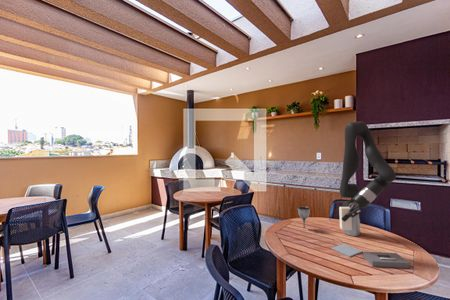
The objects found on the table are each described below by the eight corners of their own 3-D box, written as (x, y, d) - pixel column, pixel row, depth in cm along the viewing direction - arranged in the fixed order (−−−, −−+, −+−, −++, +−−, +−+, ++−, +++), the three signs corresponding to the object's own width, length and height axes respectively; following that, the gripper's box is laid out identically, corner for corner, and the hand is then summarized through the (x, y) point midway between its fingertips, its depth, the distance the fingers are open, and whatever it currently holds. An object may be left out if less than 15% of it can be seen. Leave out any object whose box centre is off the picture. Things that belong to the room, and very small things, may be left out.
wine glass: (309, 227, 159) (309, 206, 159) (310, 231, 152) (309, 209, 151) (298, 226, 162) (297, 206, 162) (298, 230, 154) (297, 209, 154)
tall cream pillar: (349, 228, 123) (348, 206, 123) (351, 230, 120) (351, 208, 120) (339, 227, 124) (339, 206, 124) (342, 230, 121) (341, 208, 121)
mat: (344, 244, 129) (343, 243, 129) (362, 252, 119) (362, 251, 119) (331, 248, 125) (331, 247, 125) (349, 257, 115) (349, 256, 115)
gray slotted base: (396, 257, 112) (396, 251, 112) (409, 268, 103) (409, 261, 103) (362, 256, 115) (362, 250, 115) (372, 266, 105) (372, 259, 105)
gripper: (353, 190, 128) (332, 210, 130) (365, 195, 114) (340, 218, 116) (363, 199, 127) (342, 220, 129) (376, 205, 113) (352, 228, 115)
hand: (341, 219), depth 122 cm, fingers closed on tall cream pillar, 3 cm apart
